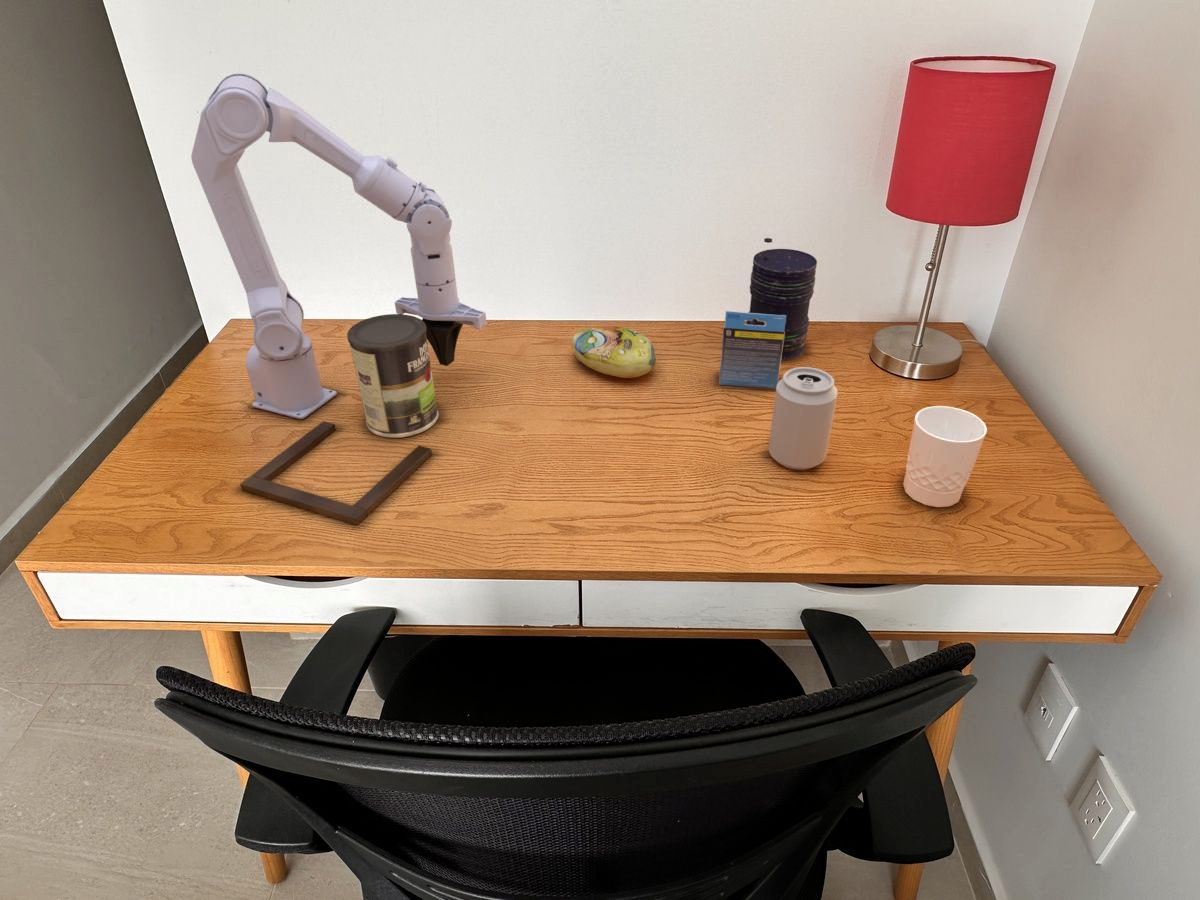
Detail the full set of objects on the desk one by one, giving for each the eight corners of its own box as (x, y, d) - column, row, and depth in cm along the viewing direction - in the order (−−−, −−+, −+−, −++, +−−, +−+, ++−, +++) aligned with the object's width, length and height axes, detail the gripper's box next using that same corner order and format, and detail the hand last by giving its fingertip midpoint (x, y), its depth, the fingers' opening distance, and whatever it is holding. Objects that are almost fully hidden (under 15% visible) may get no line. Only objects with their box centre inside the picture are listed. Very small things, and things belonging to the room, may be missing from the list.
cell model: (625, 382, 117) (558, 320, 122) (619, 411, 123) (556, 351, 128) (676, 346, 121) (609, 287, 126) (668, 376, 128) (605, 319, 133)
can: (828, 446, 107) (842, 367, 100) (822, 478, 101) (837, 396, 94) (772, 437, 109) (782, 359, 102) (763, 467, 103) (773, 387, 96)
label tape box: (777, 377, 122) (786, 303, 115) (777, 391, 119) (787, 315, 112) (719, 373, 124) (725, 300, 117) (718, 386, 120) (724, 311, 113)
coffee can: (449, 403, 117) (437, 316, 109) (422, 442, 109) (407, 350, 101) (384, 397, 119) (367, 310, 111) (353, 434, 111) (332, 343, 103)
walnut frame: (241, 490, 100) (239, 484, 100) (324, 426, 112) (323, 420, 112) (357, 525, 94) (355, 519, 94) (432, 454, 106) (431, 448, 106)
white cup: (957, 518, 94) (979, 449, 88) (890, 497, 97) (907, 429, 92) (971, 484, 99) (992, 417, 94) (907, 465, 103) (924, 399, 97)
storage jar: (805, 336, 134) (821, 231, 124) (804, 363, 126) (820, 254, 116) (746, 331, 136) (756, 227, 126) (741, 357, 128) (751, 249, 118)
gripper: (493, 275, 114) (501, 359, 122) (409, 261, 119) (421, 343, 127) (467, 294, 109) (477, 380, 117) (380, 278, 114) (395, 362, 122)
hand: (447, 362), depth 122 cm, fingers closed
